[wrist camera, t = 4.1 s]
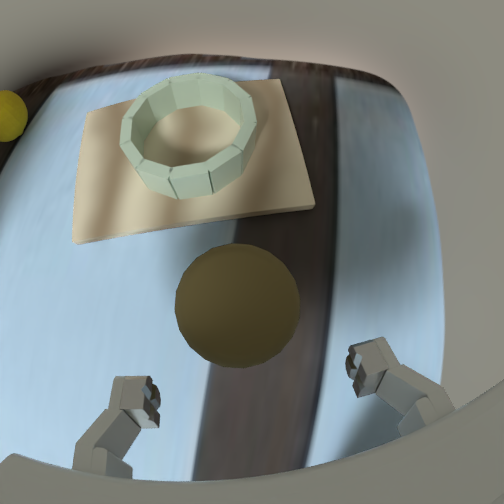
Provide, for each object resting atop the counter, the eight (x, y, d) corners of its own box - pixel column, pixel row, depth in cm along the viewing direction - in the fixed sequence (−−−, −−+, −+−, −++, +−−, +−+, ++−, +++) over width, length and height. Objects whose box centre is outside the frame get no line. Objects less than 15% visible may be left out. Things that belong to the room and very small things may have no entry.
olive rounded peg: (208, 262, 22) (178, 208, 11) (286, 279, 22) (331, 241, 11) (189, 340, 20) (140, 362, 10) (270, 358, 20) (301, 398, 9)
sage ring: (133, 208, 21) (116, 189, 18) (136, 111, 23) (126, 87, 20) (262, 188, 22) (266, 165, 19) (243, 93, 24) (244, 67, 21)
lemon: (27, 111, 25) (-2, 75, 17) (44, 122, 24) (11, 82, 17) (1, 144, 24) (-32, 113, 16) (15, 159, 23) (-23, 124, 15)
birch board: (77, 244, 21) (72, 241, 20) (90, 118, 24) (87, 112, 23) (312, 209, 23) (315, 204, 22) (278, 85, 26) (279, 79, 25)
